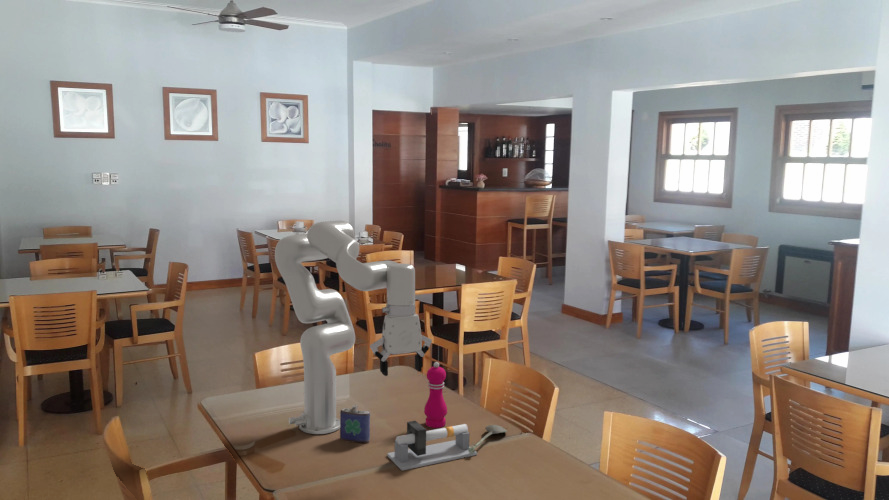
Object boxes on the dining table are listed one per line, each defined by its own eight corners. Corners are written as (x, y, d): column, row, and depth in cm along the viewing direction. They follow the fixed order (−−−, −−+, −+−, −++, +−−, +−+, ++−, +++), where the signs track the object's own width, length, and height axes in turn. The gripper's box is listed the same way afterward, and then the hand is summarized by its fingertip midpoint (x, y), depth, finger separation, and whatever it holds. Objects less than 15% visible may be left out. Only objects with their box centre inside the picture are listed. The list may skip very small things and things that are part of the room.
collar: (417, 455, 182) (417, 430, 181) (406, 446, 188) (407, 421, 187) (425, 454, 183) (426, 429, 182) (415, 444, 189) (415, 420, 188)
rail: (401, 470, 178) (402, 444, 177) (387, 455, 187) (387, 430, 186) (477, 454, 189) (477, 429, 188) (459, 441, 198) (460, 417, 197)
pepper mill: (444, 429, 206) (445, 366, 204) (421, 427, 208) (422, 364, 205) (449, 421, 213) (450, 359, 211) (426, 418, 215) (427, 358, 212)
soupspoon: (510, 434, 205) (490, 431, 208) (510, 423, 205) (491, 420, 208) (481, 455, 186) (459, 451, 189) (481, 443, 185) (459, 439, 188)
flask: (371, 440, 197) (371, 405, 196) (367, 444, 195) (367, 408, 193) (342, 436, 200) (341, 401, 199) (337, 440, 197) (337, 405, 196)
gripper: (374, 315, 173) (375, 380, 175) (436, 310, 180) (436, 372, 182) (365, 310, 180) (366, 372, 182) (425, 305, 187) (425, 365, 189)
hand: (401, 372), depth 182 cm, fingers open, 9 cm apart
